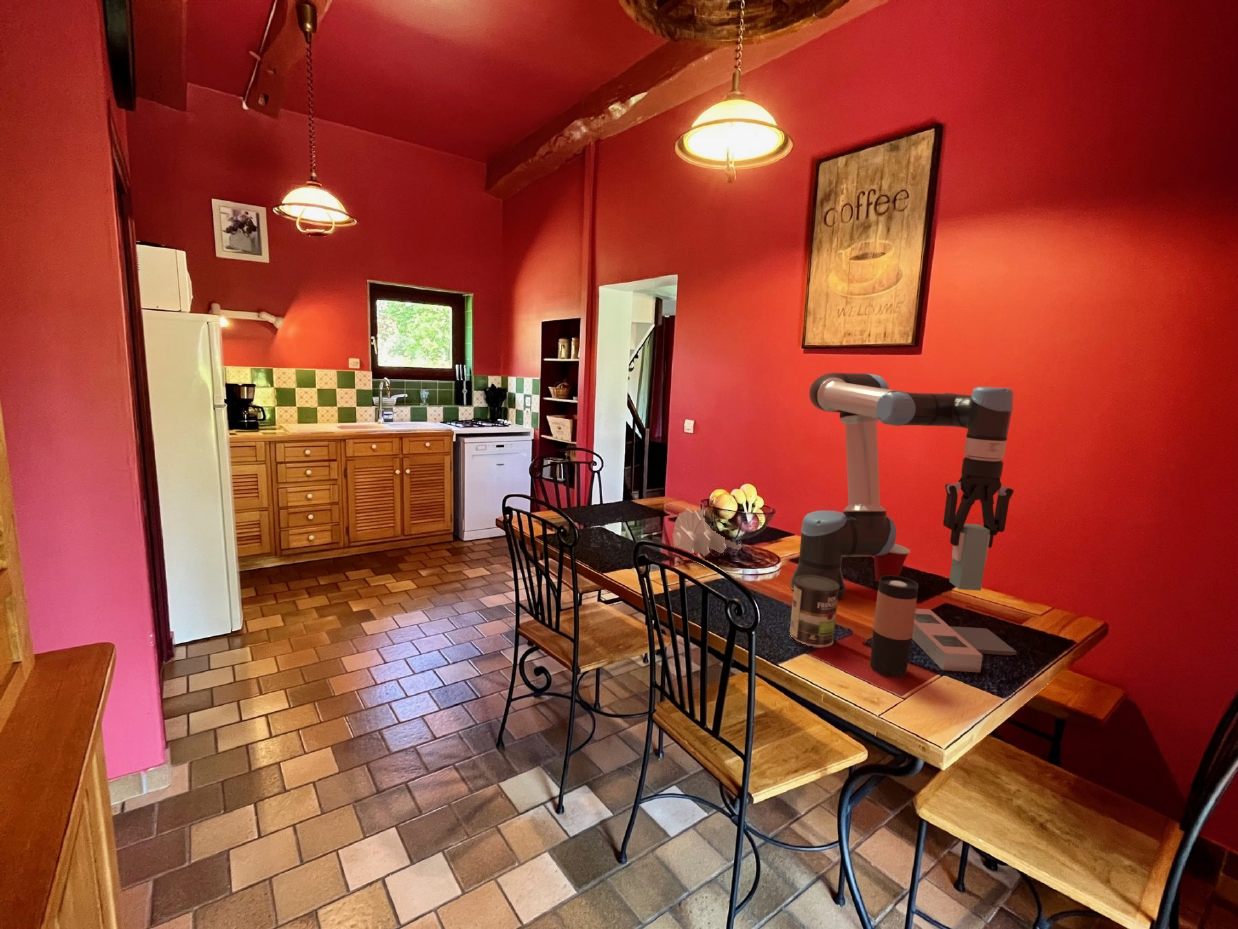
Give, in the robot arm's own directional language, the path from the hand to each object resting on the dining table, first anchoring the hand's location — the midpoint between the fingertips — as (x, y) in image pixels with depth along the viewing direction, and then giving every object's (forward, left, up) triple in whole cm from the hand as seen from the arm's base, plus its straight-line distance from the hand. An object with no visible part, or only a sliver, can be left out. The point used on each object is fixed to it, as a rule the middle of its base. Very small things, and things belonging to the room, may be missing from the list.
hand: (968, 559), depth 128 cm
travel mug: (-19, -10, -23) cm, 31 cm away
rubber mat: (+8, +6, -23) cm, 25 cm away
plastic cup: (+2, +44, -23) cm, 50 cm away
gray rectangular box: (0, 0, -6) cm, 6 cm away
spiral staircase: (-52, +59, -23) cm, 82 cm away
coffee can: (-32, +3, -23) cm, 40 cm away
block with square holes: (-3, +3, -23) cm, 23 cm away
